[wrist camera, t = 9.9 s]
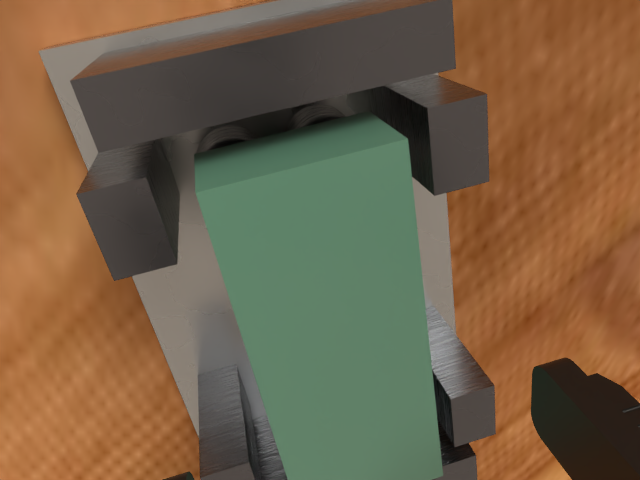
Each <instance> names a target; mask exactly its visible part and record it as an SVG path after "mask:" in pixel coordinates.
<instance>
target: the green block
mask: <svg viewBox="0 0 640 480" xmlns="http://www.w3.org/2000/svg"><path fill="white" fill-rule="evenodd" d="M194 167H195V193H196V196H197V199H198V202H199V206H200V209H201V212H202V215H203V218H204V221H205V224H206V227H207V230H208V234H209V237H210V240H211V243H212V246H213V249H214V252H215V255H216V258H217V261H218V265H219V268H220V271H221V274H222V277H223V280H224V283H225V286H226V289H227V293H228V296H229V299H230V302H231V305H232V308H233V311H234V314H235V317H236V321H237V324H238V327H239V330H240V333H241V336H242V339H243V342H244V345H245V349H246V352H247V355H248V358H249V361H250V364H251V367H252V370H253V373H254V376H255V380H256V383H257V386H258V389H259V392H260V395H261V398H262V401H263V404H264V408H265V411H266V414H267V417H268V420H269V423H270V426H271V429H272V432H273V436H274V439H275V442H276V445H277V448H278V451H279V454H280V457H281V460H282V463H283V467H284V470H285V473H286V476H287V479H288V480H432V479H435V478H438V477H441V476H443V469H442V459H441V449H440V440H439V430H438V421H437V411H436V402H435V392H434V383H433V373H432V364H431V354H430V344H429V335H428V325H427V316H426V306H425V297H424V287H423V278H422V268H421V259H420V249H419V239H418V230H417V220H416V211H415V201H414V192H413V182H412V173H411V163H410V154H409V144H408V138H406V137H405V136H403V135H402V134H400V133H399V132H398V131H396V130H395V129H393V128H392V127H391V126H389V125H388V124H386V123H385V122H384V121H382V120H381V119H379V118H378V117H376V116H375V115H374V114H372V113H371V112H369V111H367V112H363V113H359V114H355V115H351V116H347V117H342V118H338V119H334V120H330V121H326V122H322V123H318V124H314V125H310V126H306V127H302V128H298V129H294V130H290V131H285V132H281V133H277V134H273V135H269V136H265V137H261V138H257V139H253V140H249V141H245V142H241V143H237V144H233V145H228V146H224V147H220V148H216V149H212V150H208V151H204V152H200V153H196V154H194Z"/></svg>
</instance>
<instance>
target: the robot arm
mask: <svg viewBox="0 0 640 480" xmlns="http://www.w3.org/2000/svg"><path fill="white" fill-rule="evenodd" d="M531 416H532V420H533V423H534V426H535V428H536V431H537V433H538V434H539V436H540V438H541V439H542V441H543V442H544V443H545V445H546V446H547V447H548V448H549V450H550V451H551V452H552V454H553V455H554V456H555V458H556V459H557V460H558V462H559V463H560V464H561V466H562V467H563V468H564V470H565V471H566V472H567V473H568V475H569V476H570V477H571V479H572V480H640V403H639V402H638V401H637V400H636V399H635V398H633V397H632V396H631V395H630V394H629V393H628V392H627V391H626V390H625V389H624V388H623V387H622V386H620V385H618V384H616V383H615V382H613V381H611V380H609V379H607V378H605V377H603V376H601V375H599V374H598V373H596V374H593V375H590V376H587V375H586V374H585V373H584V372H583V371H582V370H581V369H580V368H579V367H578V366H577V365H576V364H575V363H574V362H573V361H572V360H570V359H568V358H562V359H558V360H555V361H552V362H549V363H545V364H542V365H539V366H536V367H534V369H533V372H532V398H531ZM163 480H194V478H193V476H192V474H191V473H190V472H186V473H183V474H180V475H176V476H173V477H170V478H167V479H163Z"/></svg>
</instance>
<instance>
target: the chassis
mask: <svg viewBox="0 0 640 480" xmlns="http://www.w3.org/2000/svg"><path fill="white" fill-rule="evenodd" d="M39 54H40V56H41V58H42V61H43V63H44V66H45V68H46V70H47V73H48V75H49V78H50V80H51V83H52V85H53V87H54V90H55V92H56V95H57V97H58V99H59V102H60V104H61V107H62V109H63V111H64V114H65V116H66V119H67V121H68V124H69V126H70V128H71V131H72V133H73V136H74V138H75V140H76V143H77V145H78V148H79V150H80V152H81V155H82V157H83V160H84V162H85V165H86V167H87V169H88V173H87V175H86V177H85V179H84V181H83V183H82V184H81V186H80V188H79V190H78V192H77V197H78V199H79V201H80V204H81V206H82V208H83V211H84V213H85V215H86V217H87V220H88V222H89V224H90V227H91V229H92V231H93V233H94V236H95V238H96V240H97V243H98V245H99V247H100V250H101V252H102V254H103V256H104V259H105V261H106V263H107V266H108V268H109V270H110V272H111V275H112V277H113V279H114V281H116V280H119V279H123V278H127V277H131V276H132V278H133V280H134V283H135V285H136V288H137V290H138V292H139V295H140V297H141V300H142V302H143V304H144V307H145V309H146V312H147V314H148V316H149V319H150V321H151V324H152V326H153V329H154V331H155V333H156V336H157V338H158V341H159V343H160V345H161V348H162V350H163V353H164V355H165V357H166V360H167V362H168V365H169V367H170V370H171V372H172V374H173V377H174V379H175V382H176V384H177V386H178V389H179V391H180V394H181V396H182V398H183V401H184V403H185V406H186V408H187V411H188V413H189V415H190V418H191V420H192V423H193V425H194V427H195V430H196V432H197V435H198V437H199V453H200V479H201V480H288V479H287V476H286V473H285V470H284V467H283V463H282V460H281V457H280V454H279V451H278V448H277V445H276V442H275V439H274V436H273V432H272V429H271V426H270V423H269V420H268V417H267V414H266V411H265V408H264V404H263V401H262V398H261V395H260V392H259V389H258V386H257V383H256V380H255V376H254V373H253V370H252V367H251V364H250V361H249V358H248V355H247V352H246V349H245V345H244V342H243V339H242V336H241V333H240V330H239V327H238V324H237V321H236V317H235V314H234V311H233V308H232V305H231V302H230V299H229V296H228V293H227V289H226V286H225V283H224V280H223V277H222V274H221V271H220V268H219V265H218V261H217V258H216V255H215V252H214V249H213V246H212V243H211V240H210V237H209V234H208V230H207V227H206V224H205V221H204V218H203V215H202V212H201V209H200V206H199V202H198V199H197V196H196V193H195V167H194V154H196V153H200V152H204V151H208V150H212V149H216V148H220V147H224V146H228V145H233V144H237V143H241V142H245V141H249V140H253V139H257V138H261V137H265V136H269V135H273V134H277V133H281V132H285V131H290V130H294V129H298V128H302V127H306V126H310V125H314V124H318V123H322V122H326V121H330V120H334V119H338V118H342V117H347V116H351V115H355V114H359V113H363V112H367V111H369V112H371V113H372V114H374V115H375V116H376V117H378V118H379V119H381V120H382V121H384V122H385V123H386V124H388V125H389V126H391V127H392V128H393V129H395V130H396V131H398V132H399V133H400V134H402V135H403V136H405V137H406V138H408V144H409V154H410V163H411V173H412V182H413V192H414V201H415V211H416V220H417V230H418V239H419V249H420V259H421V268H422V278H423V287H424V297H425V306H426V316H427V325H428V335H429V344H430V354H431V364H432V373H433V383H434V392H435V402H436V411H437V421H438V430H439V440H440V449H441V459H442V469H443V476H441V477H438V478H435V479H432V480H477V466H476V455H475V453H474V451H473V450H472V448H471V446H470V445H469V442H472V441H475V440H479V439H482V438H485V437H488V436H491V435H494V434H496V432H495V392H494V384H493V383H492V382H491V380H490V379H489V378H488V376H487V375H486V374H485V373H484V371H483V370H482V369H481V367H480V366H479V365H478V363H477V362H476V361H475V359H474V358H473V357H472V355H471V354H470V353H469V352H468V350H467V349H466V348H465V346H464V345H463V344H462V342H461V341H460V340H459V338H458V337H457V336H456V327H455V312H454V297H453V283H452V268H451V253H450V239H449V224H448V209H447V195H446V193H447V192H451V191H455V190H459V189H463V188H466V187H470V186H474V185H478V184H481V183H485V182H489V154H488V115H487V94H486V93H483V92H480V91H478V90H475V89H472V88H470V87H467V86H464V85H462V84H459V83H456V82H454V81H451V80H448V79H445V78H443V77H440V76H438V73H439V72H443V71H447V70H452V69H456V64H455V45H454V26H453V6H452V0H269V1H265V2H260V3H255V4H250V5H246V6H241V7H236V8H231V9H227V10H222V11H217V12H212V13H208V14H203V15H198V16H193V17H189V18H184V19H179V20H175V21H170V22H165V23H160V24H156V25H151V26H146V27H141V28H137V29H132V30H127V31H122V32H118V33H113V34H108V35H103V36H99V37H94V38H89V39H84V40H80V41H75V42H70V43H65V44H61V45H56V46H51V47H47V48H44V49H42V50H40V51H39Z"/></svg>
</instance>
